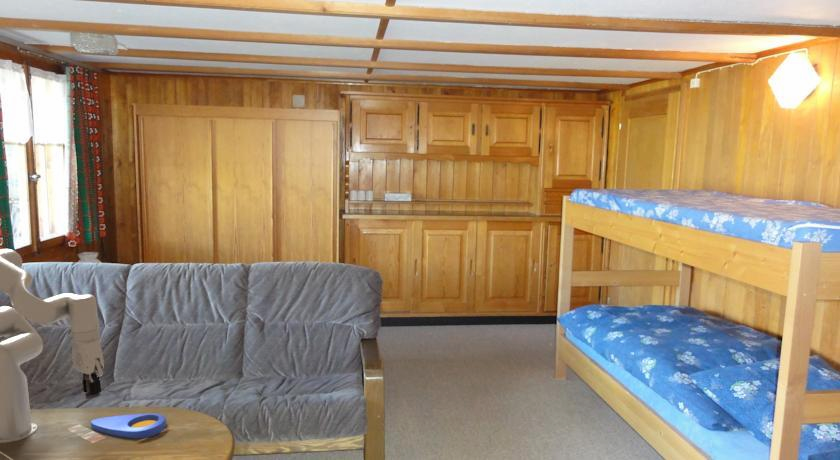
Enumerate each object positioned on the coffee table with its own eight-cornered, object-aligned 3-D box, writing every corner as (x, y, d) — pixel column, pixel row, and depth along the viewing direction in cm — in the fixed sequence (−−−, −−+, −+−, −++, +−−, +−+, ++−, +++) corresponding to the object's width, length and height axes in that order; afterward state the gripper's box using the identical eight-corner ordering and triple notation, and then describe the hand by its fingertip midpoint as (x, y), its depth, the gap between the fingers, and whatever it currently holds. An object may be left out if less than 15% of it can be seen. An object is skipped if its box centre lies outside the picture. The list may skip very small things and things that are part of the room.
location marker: (78, 438, 190) (151, 441, 186) (77, 428, 189) (150, 431, 186) (105, 419, 203) (174, 422, 199) (104, 410, 202) (173, 412, 199)
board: (64, 431, 193) (64, 429, 193) (80, 425, 197) (80, 423, 197) (91, 445, 184) (91, 443, 183) (107, 439, 188) (107, 437, 188)
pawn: (83, 397, 185) (80, 371, 184) (95, 392, 188) (93, 367, 187) (90, 399, 183) (87, 373, 182) (102, 394, 186) (99, 369, 185)
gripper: (59, 334, 184) (66, 391, 187) (87, 342, 175) (94, 401, 178) (84, 328, 190) (90, 383, 193) (112, 335, 181) (118, 392, 184)
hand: (92, 391), depth 185 cm, fingers closed on pawn, 3 cm apart
